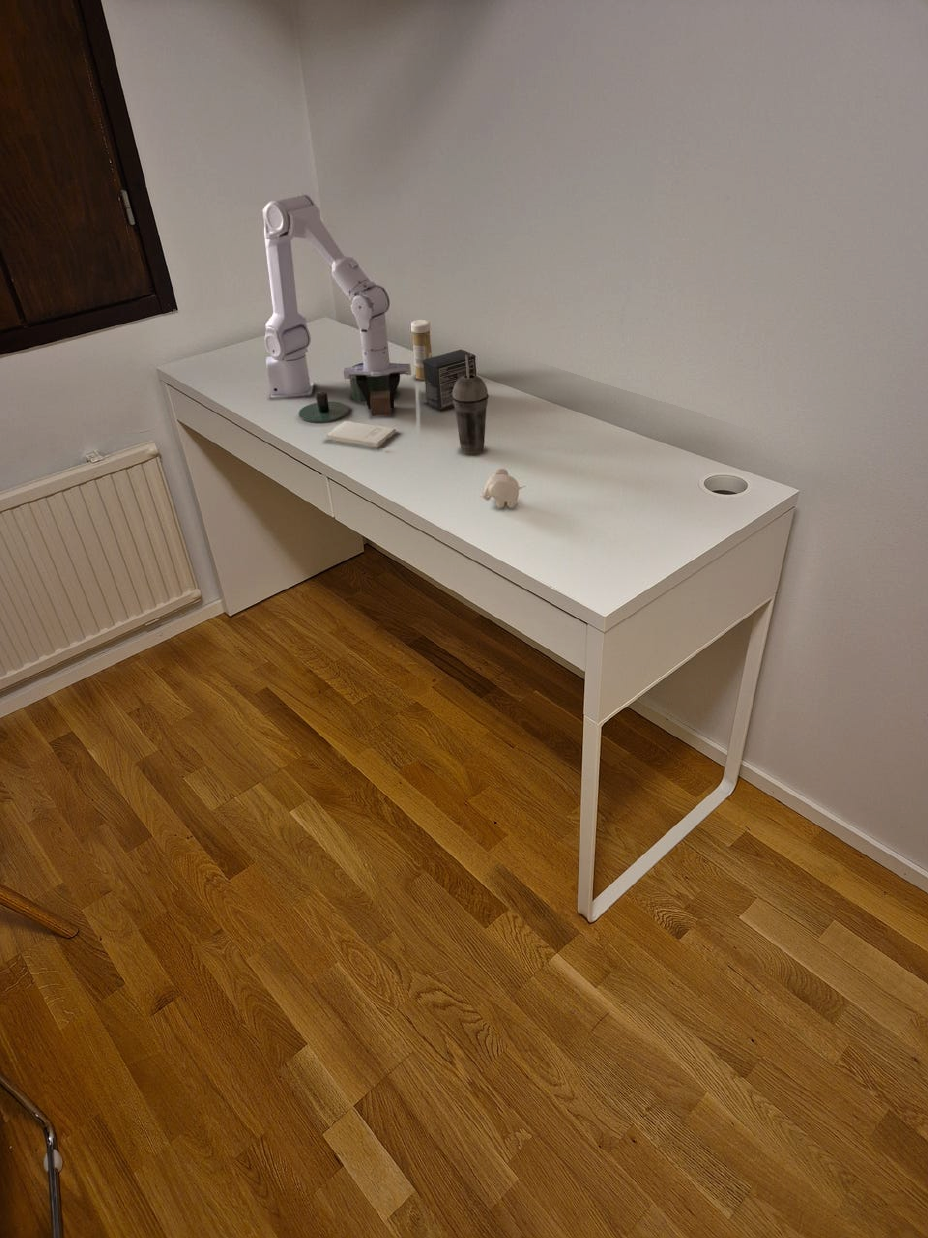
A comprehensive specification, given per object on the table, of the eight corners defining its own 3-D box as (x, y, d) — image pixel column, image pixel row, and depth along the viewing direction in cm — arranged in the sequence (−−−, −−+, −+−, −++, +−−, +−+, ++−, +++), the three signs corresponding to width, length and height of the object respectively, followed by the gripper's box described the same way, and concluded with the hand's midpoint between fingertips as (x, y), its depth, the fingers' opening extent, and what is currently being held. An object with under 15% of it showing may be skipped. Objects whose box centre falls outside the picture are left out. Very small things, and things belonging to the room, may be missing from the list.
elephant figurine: (482, 495, 159) (481, 466, 156) (526, 495, 158) (526, 466, 155) (479, 513, 154) (478, 483, 150) (524, 513, 153) (524, 483, 149)
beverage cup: (495, 444, 177) (492, 347, 166) (484, 459, 172) (480, 360, 160) (461, 441, 179) (456, 345, 168) (449, 456, 174) (443, 358, 162)
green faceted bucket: (351, 405, 198) (347, 378, 195) (353, 389, 207) (350, 362, 203) (396, 402, 199) (393, 375, 195) (396, 386, 207) (394, 359, 203)
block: (371, 417, 192) (369, 398, 190) (372, 410, 196) (370, 391, 193) (391, 416, 192) (389, 397, 190) (391, 408, 196) (390, 390, 193)
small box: (463, 392, 202) (461, 347, 196) (479, 400, 197) (477, 354, 191) (425, 403, 197) (421, 358, 191) (440, 411, 193) (437, 365, 187)
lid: (297, 426, 190) (293, 404, 187) (302, 407, 199) (298, 386, 196) (347, 423, 190) (345, 401, 187) (350, 404, 199) (347, 382, 196)
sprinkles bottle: (437, 377, 211) (434, 321, 203) (423, 382, 209) (419, 326, 201) (425, 373, 214) (421, 317, 206) (411, 378, 211) (406, 322, 204)
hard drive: (346, 427, 188) (396, 434, 184) (326, 441, 183) (377, 449, 178) (345, 419, 188) (395, 427, 183) (325, 434, 182) (377, 442, 177)
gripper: (339, 355, 182) (347, 416, 190) (408, 350, 182) (413, 411, 190) (341, 344, 188) (349, 404, 195) (408, 340, 188) (413, 400, 196)
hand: (381, 407), depth 193 cm, fingers closed on block, 4 cm apart
